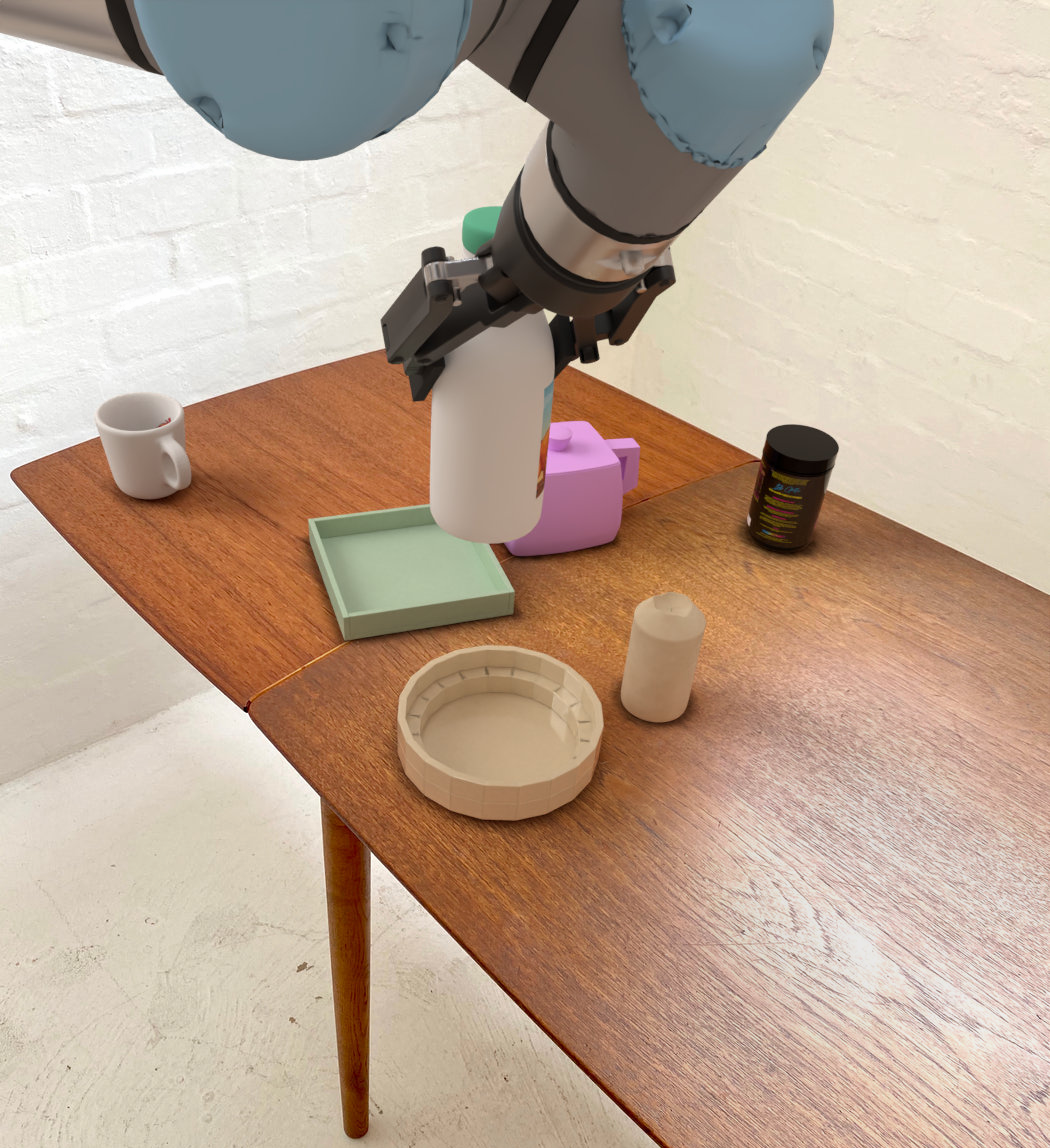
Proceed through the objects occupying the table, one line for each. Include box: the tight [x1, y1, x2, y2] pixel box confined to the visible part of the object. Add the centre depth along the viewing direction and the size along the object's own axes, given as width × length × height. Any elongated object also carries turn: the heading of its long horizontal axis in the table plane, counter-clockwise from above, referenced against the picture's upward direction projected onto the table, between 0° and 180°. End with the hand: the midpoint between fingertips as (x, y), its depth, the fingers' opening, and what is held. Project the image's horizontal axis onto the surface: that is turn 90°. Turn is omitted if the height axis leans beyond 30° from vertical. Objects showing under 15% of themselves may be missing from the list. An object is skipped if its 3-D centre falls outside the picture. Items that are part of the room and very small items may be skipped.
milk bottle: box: [429, 205, 555, 545], centre depth 70 cm, size 8×8×20 cm
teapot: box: [503, 420, 641, 557], centre depth 105 cm, size 18×10×10 cm, turn 111°
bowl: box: [396, 644, 605, 821], centre depth 84 cm, size 15×15×4 cm
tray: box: [307, 503, 516, 642], centre depth 99 cm, size 15×15×2 cm
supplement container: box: [745, 423, 840, 554], centre depth 106 cm, size 7×7×10 cm
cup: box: [94, 391, 192, 500], centre depth 105 cm, size 11×8×8 cm
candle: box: [620, 591, 707, 723], centre depth 87 cm, size 6×6×10 cm
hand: (476, 375), depth 73 cm, fingers closed on milk bottle, 8 cm apart
